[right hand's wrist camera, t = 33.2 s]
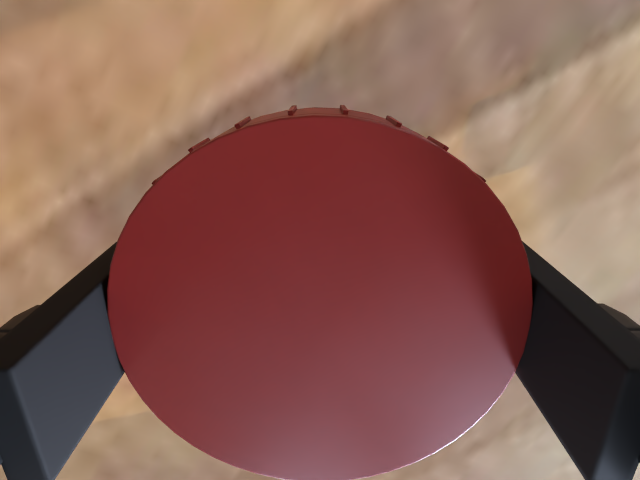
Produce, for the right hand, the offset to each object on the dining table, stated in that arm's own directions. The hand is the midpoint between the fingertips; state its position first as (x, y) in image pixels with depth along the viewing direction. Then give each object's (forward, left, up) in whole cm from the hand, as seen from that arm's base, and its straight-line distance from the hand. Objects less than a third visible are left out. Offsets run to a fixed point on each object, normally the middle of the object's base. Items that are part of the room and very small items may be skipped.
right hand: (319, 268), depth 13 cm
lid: (0, 0, +3) cm, 3 cm away
